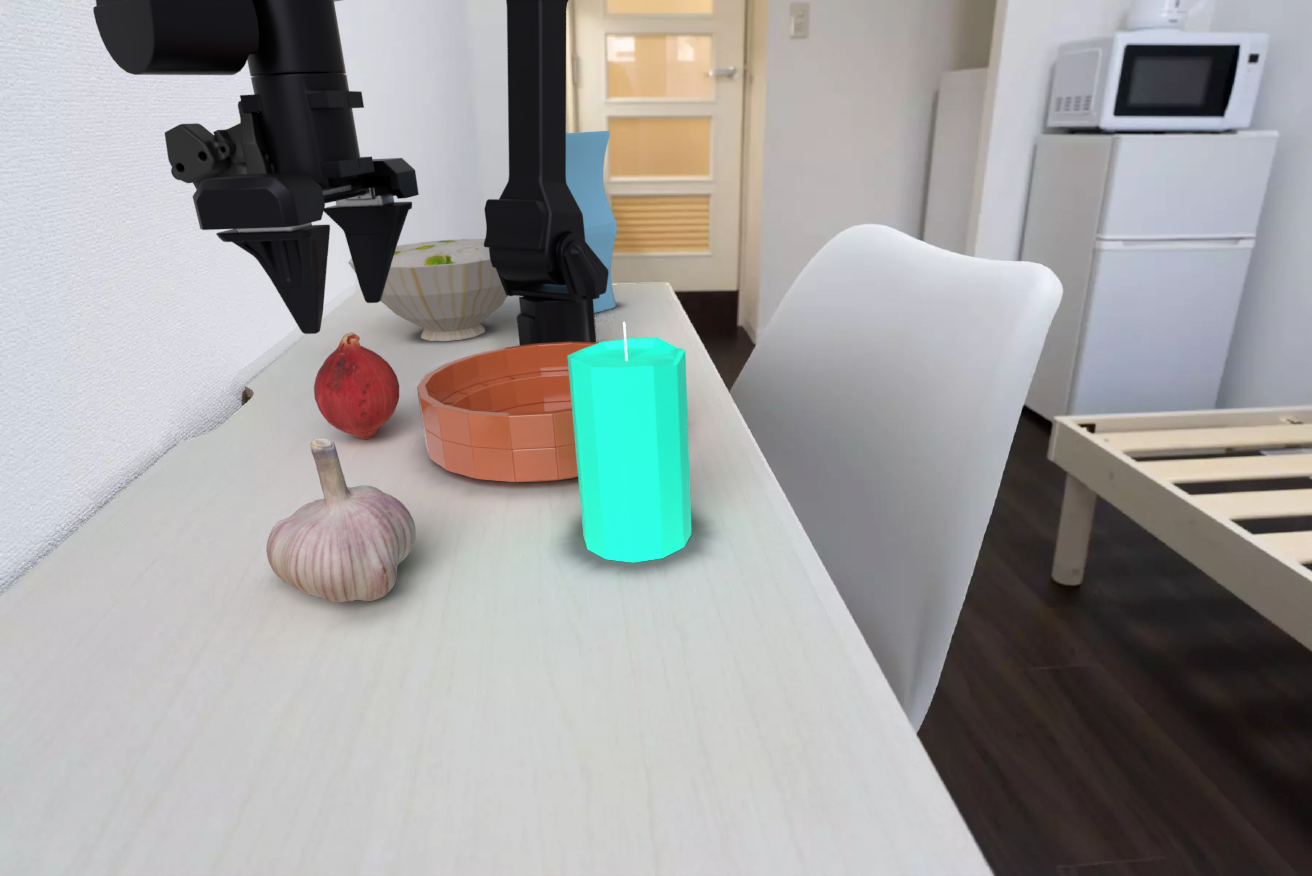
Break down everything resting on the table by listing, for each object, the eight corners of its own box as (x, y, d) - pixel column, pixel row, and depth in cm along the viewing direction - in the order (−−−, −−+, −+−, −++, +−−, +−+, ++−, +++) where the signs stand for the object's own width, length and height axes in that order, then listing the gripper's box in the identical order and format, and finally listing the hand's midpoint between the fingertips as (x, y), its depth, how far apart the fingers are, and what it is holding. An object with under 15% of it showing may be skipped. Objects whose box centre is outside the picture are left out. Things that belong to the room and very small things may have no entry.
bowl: (575, 321, 95) (568, 231, 91) (452, 365, 80) (437, 260, 76) (453, 307, 105) (442, 226, 101) (323, 345, 90) (305, 251, 86)
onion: (381, 455, 59) (362, 345, 56) (308, 452, 60) (285, 344, 57) (419, 426, 64) (403, 324, 61) (351, 424, 65) (332, 324, 62)
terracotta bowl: (585, 387, 71) (580, 330, 70) (719, 440, 58) (717, 372, 57) (391, 439, 62) (380, 374, 60) (499, 516, 49) (489, 437, 47)
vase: (621, 305, 101) (610, 130, 94) (574, 318, 96) (559, 134, 89) (576, 298, 106) (563, 132, 99) (529, 311, 101) (511, 135, 93)
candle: (610, 573, 42) (593, 344, 38) (566, 527, 47) (546, 319, 43) (712, 543, 45) (706, 324, 40) (660, 502, 50) (650, 303, 45)
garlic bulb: (406, 616, 39) (378, 461, 36) (248, 630, 39) (206, 474, 36) (432, 540, 46) (410, 405, 44) (298, 552, 46) (266, 415, 43)
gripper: (264, 86, 63) (306, 291, 68) (73, 79, 46) (150, 354, 51) (404, 77, 61) (435, 289, 67) (261, 67, 44) (319, 352, 50)
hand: (344, 316), depth 59 cm, fingers open, 9 cm apart
